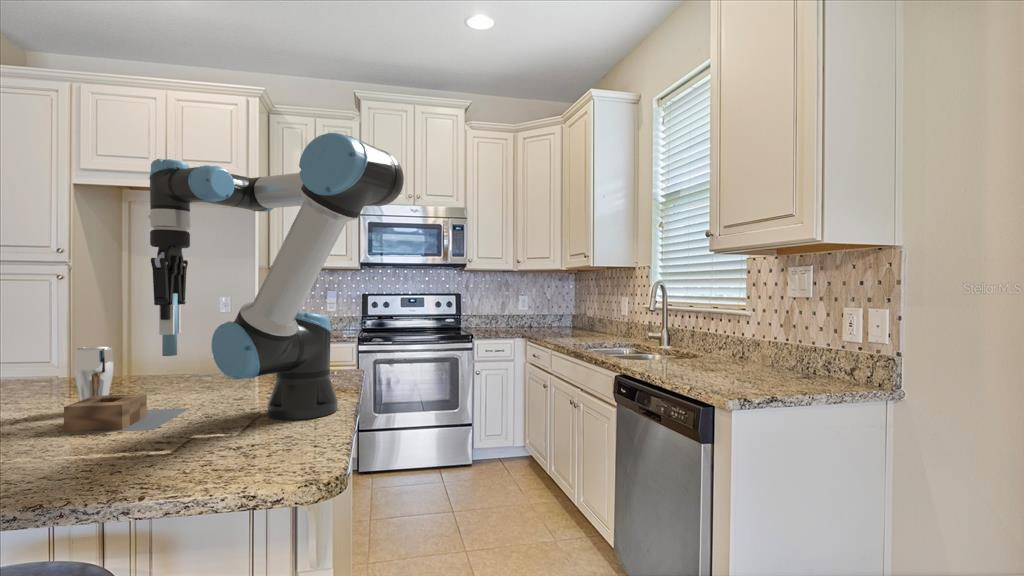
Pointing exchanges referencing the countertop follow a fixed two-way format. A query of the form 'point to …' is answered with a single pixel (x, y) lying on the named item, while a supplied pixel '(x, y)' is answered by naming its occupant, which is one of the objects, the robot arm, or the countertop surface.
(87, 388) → the beer glass
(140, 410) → the wooden peg holder
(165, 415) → the mat
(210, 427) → the countertop surface
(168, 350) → the dowel
